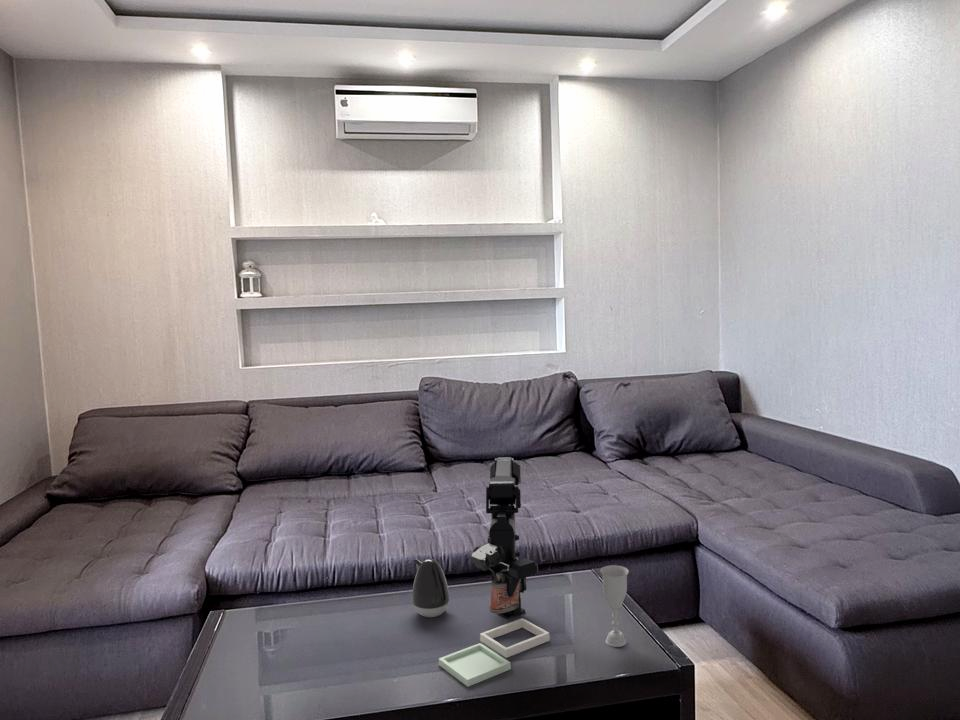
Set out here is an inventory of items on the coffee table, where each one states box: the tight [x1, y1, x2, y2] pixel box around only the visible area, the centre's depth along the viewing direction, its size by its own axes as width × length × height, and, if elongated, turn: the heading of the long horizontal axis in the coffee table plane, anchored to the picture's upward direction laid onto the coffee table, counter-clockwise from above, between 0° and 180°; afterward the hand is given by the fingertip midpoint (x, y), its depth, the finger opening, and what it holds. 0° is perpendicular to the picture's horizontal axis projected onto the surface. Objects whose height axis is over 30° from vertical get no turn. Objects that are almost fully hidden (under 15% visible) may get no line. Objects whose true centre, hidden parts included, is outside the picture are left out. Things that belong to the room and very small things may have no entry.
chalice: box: [600, 564, 629, 648], centre depth 173 cm, size 7×7×18 cm
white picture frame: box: [479, 617, 550, 659], centre depth 176 cm, size 11×14×2 cm
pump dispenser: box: [411, 558, 450, 618], centre depth 193 cm, size 10×10×15 cm
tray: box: [438, 642, 512, 687], centre depth 164 cm, size 12×12×2 cm
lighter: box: [489, 569, 521, 615], centre depth 172 cm, size 8×3×10 cm, turn 122°
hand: (505, 594), depth 172 cm, fingers closed on lighter, 3 cm apart
